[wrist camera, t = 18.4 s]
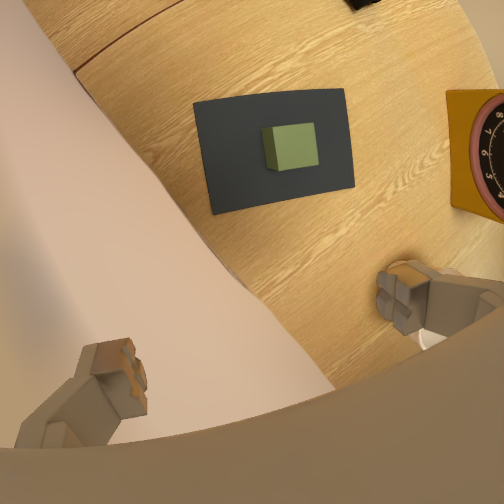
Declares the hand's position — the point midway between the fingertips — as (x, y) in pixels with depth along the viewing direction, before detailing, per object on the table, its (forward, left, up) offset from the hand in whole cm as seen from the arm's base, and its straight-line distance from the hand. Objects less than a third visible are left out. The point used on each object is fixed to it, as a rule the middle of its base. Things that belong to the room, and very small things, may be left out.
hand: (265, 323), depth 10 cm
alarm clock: (+48, 0, -31) cm, 57 cm away
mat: (+12, +3, -31) cm, 33 cm away
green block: (+12, +3, -31) cm, 33 cm away
